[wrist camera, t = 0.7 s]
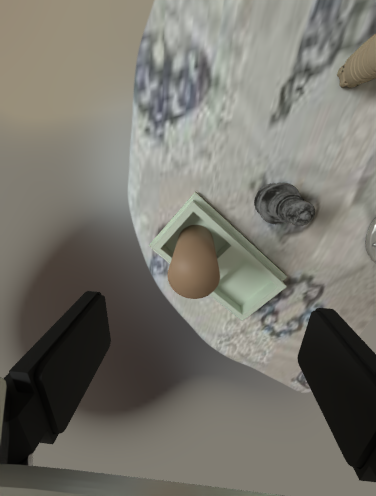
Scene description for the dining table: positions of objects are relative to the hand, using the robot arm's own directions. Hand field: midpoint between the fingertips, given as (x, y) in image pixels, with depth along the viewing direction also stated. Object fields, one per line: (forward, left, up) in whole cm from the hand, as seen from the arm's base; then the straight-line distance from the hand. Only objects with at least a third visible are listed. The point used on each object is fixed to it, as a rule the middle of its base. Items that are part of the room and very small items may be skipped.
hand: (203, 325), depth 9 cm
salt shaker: (-7, -9, -26) cm, 29 cm away
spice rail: (-8, +4, -26) cm, 28 cm away
